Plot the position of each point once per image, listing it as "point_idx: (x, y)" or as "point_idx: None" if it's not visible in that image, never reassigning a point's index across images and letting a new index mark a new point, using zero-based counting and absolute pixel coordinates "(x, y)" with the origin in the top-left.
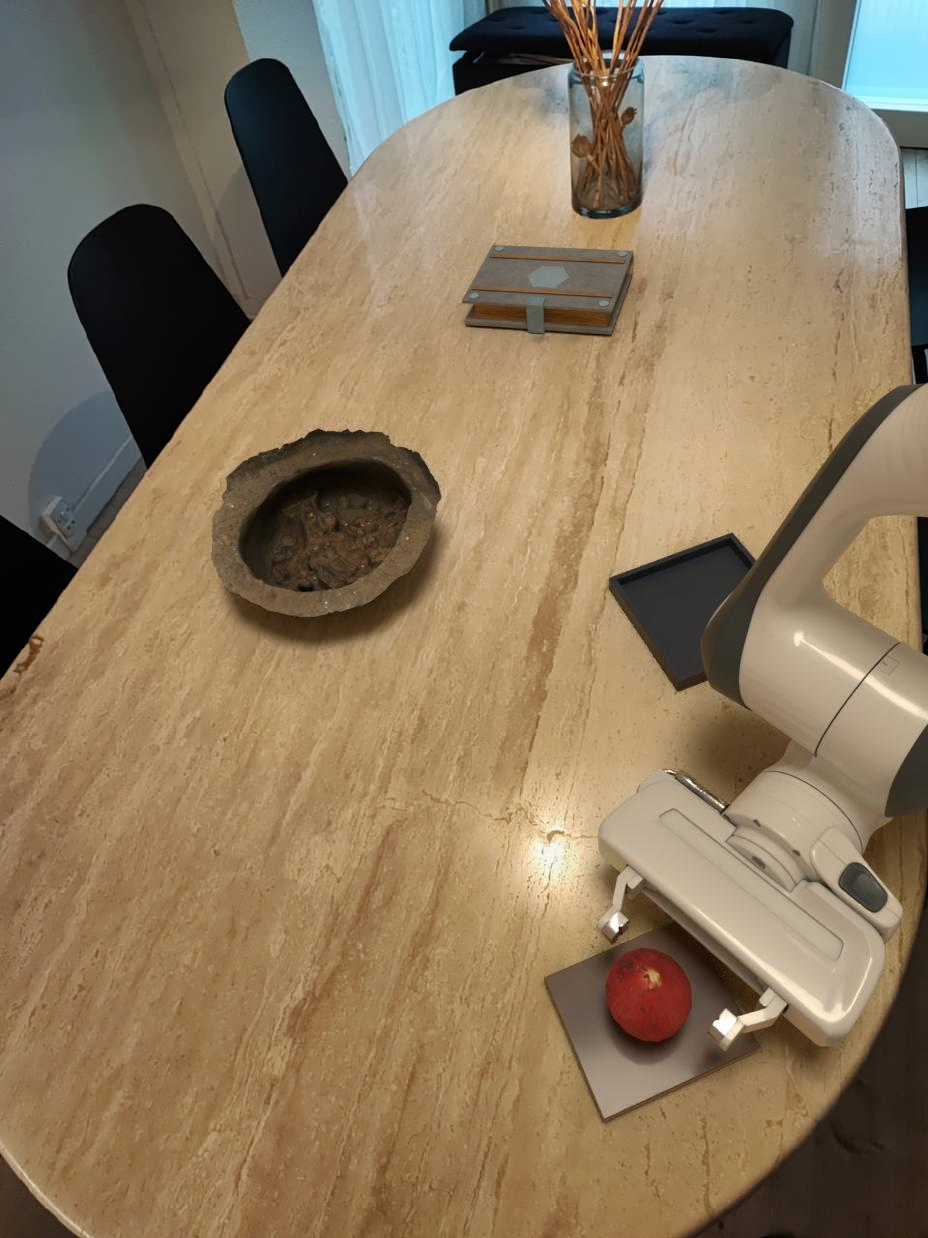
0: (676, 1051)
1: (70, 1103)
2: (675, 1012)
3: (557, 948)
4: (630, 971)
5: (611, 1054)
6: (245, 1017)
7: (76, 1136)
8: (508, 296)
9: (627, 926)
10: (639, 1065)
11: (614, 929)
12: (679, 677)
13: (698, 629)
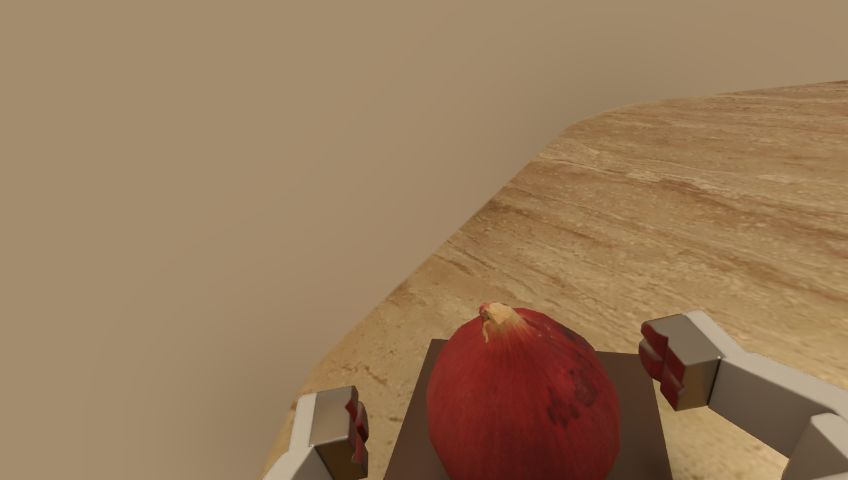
0: (435, 471)
1: (651, 113)
2: (437, 380)
3: (706, 417)
4: (550, 322)
5: None
6: (690, 163)
7: (627, 116)
8: None
9: (676, 393)
10: None
11: (665, 328)
12: None
13: None
